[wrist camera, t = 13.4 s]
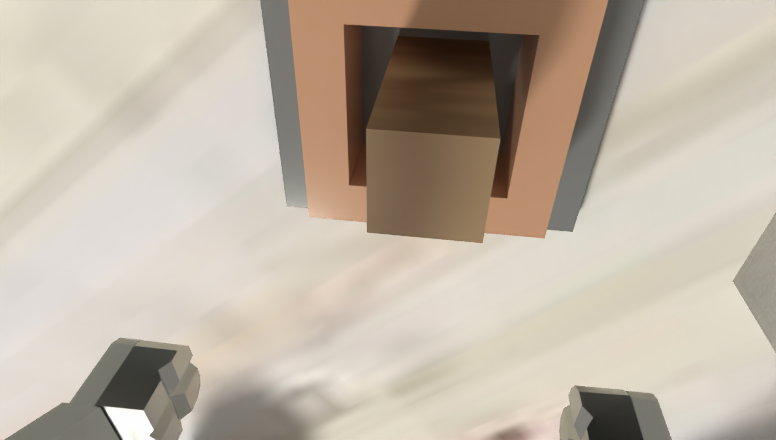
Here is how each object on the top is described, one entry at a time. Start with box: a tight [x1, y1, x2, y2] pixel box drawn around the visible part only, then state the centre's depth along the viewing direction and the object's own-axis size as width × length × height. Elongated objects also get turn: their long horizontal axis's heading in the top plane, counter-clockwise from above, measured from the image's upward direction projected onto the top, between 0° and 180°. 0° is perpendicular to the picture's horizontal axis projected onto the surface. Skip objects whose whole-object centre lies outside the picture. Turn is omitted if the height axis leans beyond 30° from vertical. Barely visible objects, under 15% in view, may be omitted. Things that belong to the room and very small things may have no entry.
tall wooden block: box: [366, 36, 501, 243], centre depth 20 cm, size 4×4×9 cm
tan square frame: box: [260, 0, 644, 238], centre depth 22 cm, size 16×16×5 cm
